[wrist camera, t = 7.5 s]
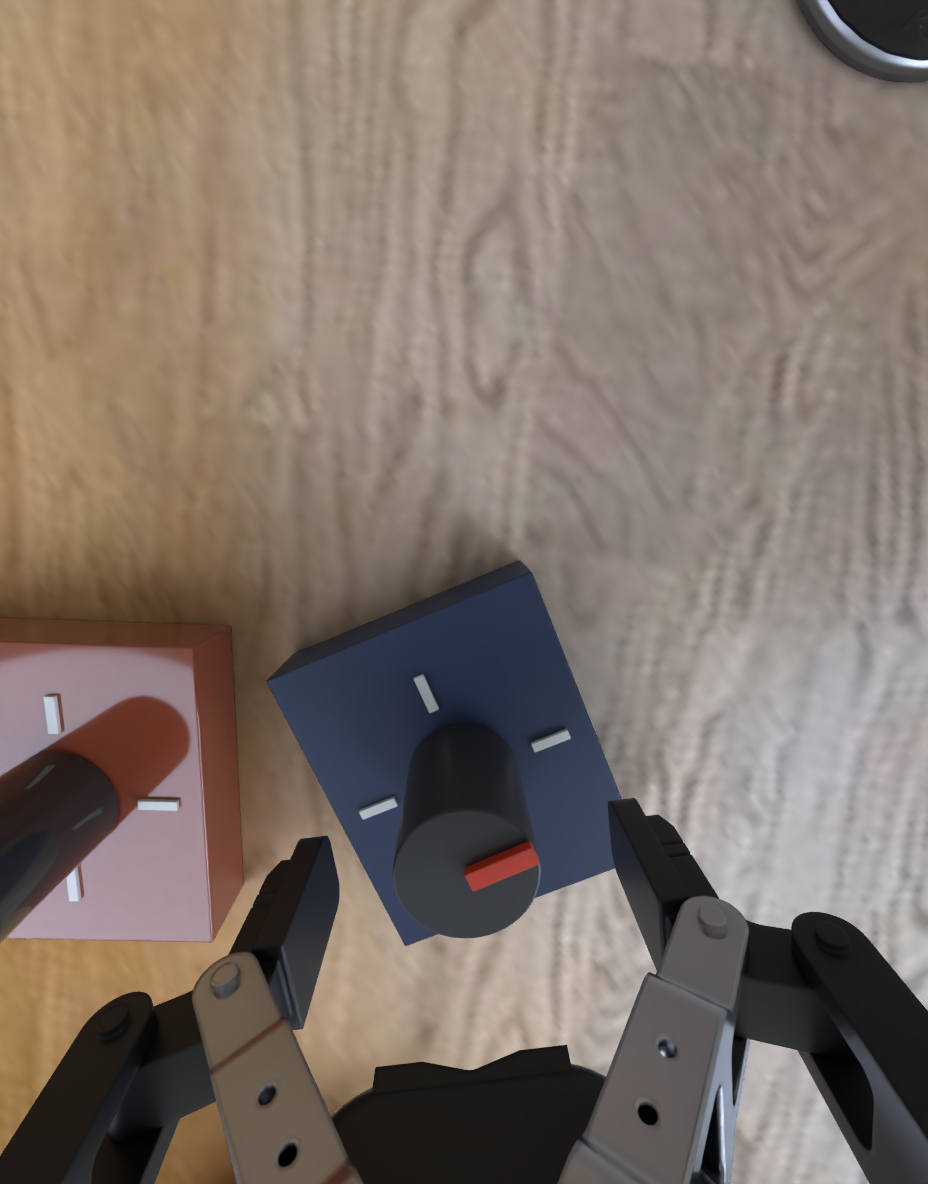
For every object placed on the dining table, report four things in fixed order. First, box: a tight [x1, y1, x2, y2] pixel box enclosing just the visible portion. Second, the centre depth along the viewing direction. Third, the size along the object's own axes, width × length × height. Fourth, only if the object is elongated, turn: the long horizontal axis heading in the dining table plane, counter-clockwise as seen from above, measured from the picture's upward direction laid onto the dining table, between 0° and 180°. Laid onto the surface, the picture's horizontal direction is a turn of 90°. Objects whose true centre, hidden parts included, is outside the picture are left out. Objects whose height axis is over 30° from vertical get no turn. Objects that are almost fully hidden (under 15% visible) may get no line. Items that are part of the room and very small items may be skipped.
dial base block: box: [0, 618, 244, 942], centre depth 20 cm, size 12×10×3 cm
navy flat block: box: [267, 561, 622, 946], centre depth 20 cm, size 12×10×3 cm
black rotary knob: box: [392, 724, 541, 938], centre depth 16 cm, size 4×4×5 cm
